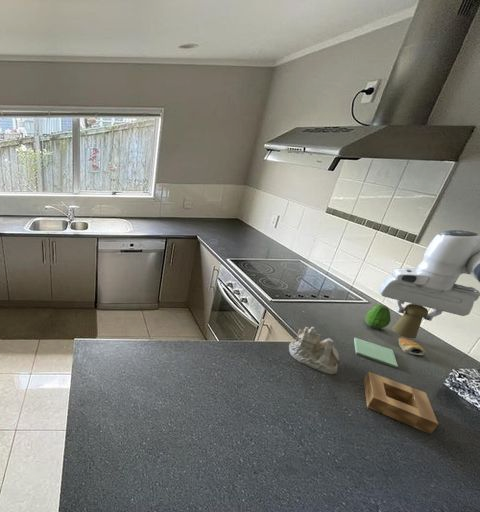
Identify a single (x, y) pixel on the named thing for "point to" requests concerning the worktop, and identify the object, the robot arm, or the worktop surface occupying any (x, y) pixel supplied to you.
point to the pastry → (411, 347)
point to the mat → (375, 352)
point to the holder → (411, 413)
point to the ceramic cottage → (315, 351)
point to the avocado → (378, 317)
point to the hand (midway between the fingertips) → (412, 315)
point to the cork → (410, 321)
